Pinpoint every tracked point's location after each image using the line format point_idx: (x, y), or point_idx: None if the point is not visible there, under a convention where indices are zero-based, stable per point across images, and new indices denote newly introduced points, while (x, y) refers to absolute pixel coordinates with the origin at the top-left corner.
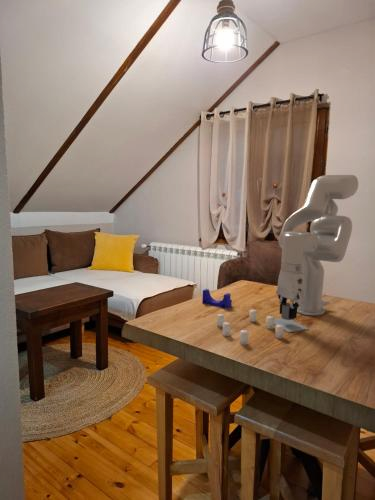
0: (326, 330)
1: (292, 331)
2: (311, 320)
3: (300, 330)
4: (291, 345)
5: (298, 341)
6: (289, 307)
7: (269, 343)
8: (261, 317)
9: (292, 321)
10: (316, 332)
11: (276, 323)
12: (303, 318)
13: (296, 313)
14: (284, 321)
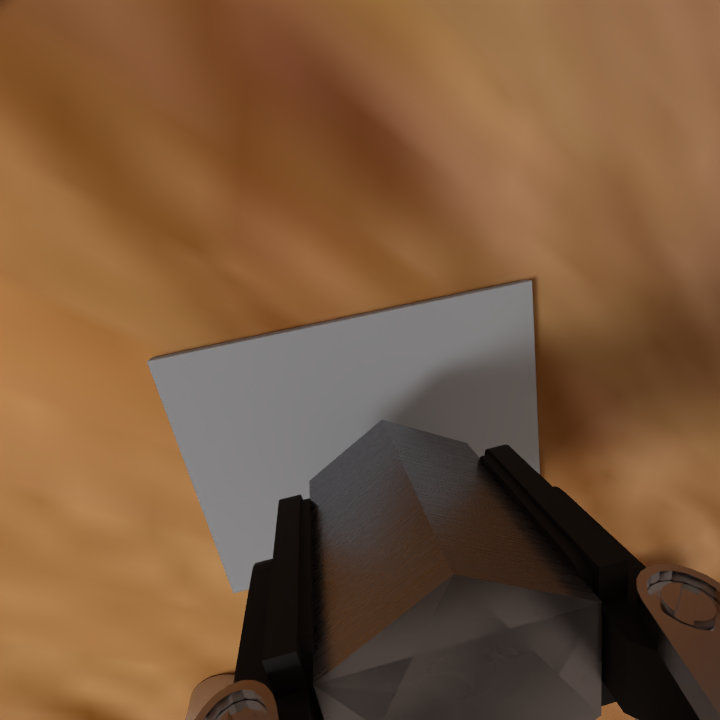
0: (608, 61)
1: (538, 468)
2: (256, 25)
3: (530, 379)
4: (712, 557)
5: (687, 490)
6: (588, 705)
7: None
8: (123, 612)
9: (307, 359)
10: (610, 232)
11: None
12: (163, 109)
13: (541, 483)
14: (295, 448)
